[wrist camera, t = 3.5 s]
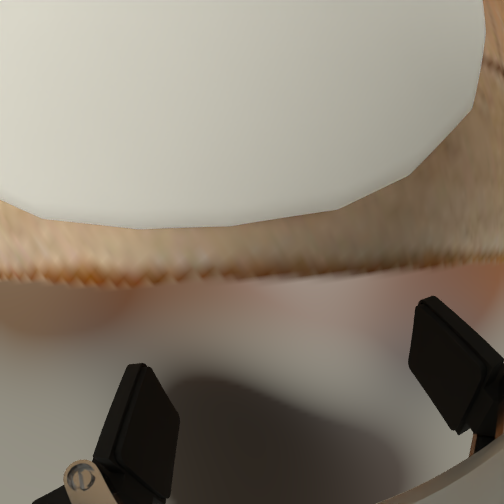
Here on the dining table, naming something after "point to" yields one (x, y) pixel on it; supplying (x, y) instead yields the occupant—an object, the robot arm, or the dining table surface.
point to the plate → (225, 104)
